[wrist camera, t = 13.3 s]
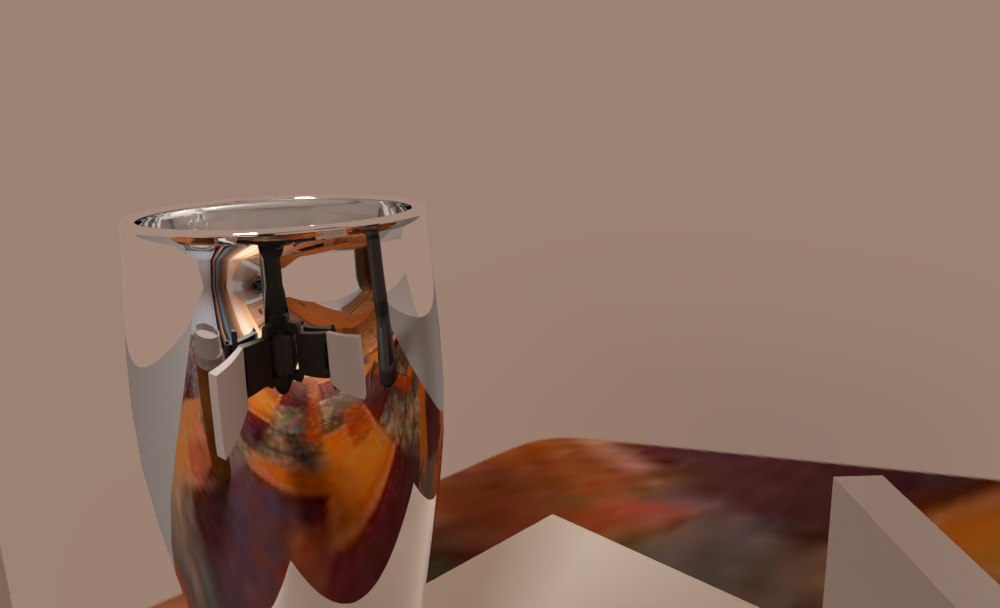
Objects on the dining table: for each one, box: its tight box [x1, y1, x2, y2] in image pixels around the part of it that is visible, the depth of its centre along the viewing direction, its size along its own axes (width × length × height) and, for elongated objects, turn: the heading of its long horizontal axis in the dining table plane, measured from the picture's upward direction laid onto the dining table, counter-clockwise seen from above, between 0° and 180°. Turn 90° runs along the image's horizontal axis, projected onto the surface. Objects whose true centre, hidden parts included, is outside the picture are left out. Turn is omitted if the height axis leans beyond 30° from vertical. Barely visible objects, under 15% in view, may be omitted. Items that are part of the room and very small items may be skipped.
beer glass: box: [117, 194, 444, 608], centre depth 19 cm, size 7×7×15 cm
